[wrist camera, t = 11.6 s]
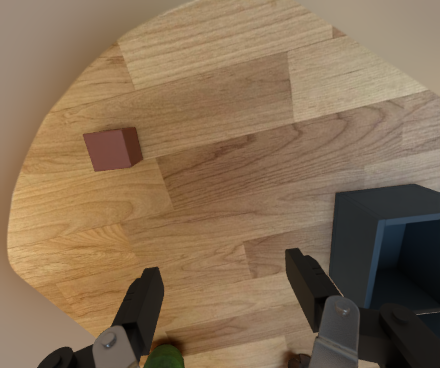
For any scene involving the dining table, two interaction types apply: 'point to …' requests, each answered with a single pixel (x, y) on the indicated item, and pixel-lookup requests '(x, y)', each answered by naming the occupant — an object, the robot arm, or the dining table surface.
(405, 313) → the robot arm
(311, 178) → the dining table surface
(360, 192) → the chest
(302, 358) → the pottery mug
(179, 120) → the dining table surface
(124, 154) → the block
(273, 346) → the dining table surface
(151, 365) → the avocado
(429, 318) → the lid
